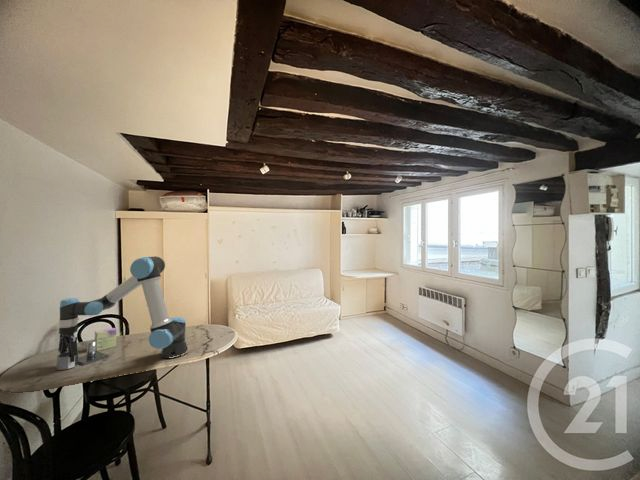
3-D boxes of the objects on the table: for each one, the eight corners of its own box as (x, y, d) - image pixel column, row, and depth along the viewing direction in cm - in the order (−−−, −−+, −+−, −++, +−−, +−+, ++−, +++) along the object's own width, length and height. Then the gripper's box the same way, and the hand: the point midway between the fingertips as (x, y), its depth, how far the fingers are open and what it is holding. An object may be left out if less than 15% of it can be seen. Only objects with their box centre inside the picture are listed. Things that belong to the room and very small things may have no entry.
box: (113, 344, 175) (114, 327, 176) (116, 346, 172) (116, 329, 172) (93, 349, 167) (94, 331, 167) (96, 351, 164) (97, 333, 164)
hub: (80, 364, 145) (80, 352, 145) (61, 371, 138) (61, 358, 138) (73, 362, 148) (73, 350, 148) (54, 368, 141) (54, 355, 141)
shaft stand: (108, 357, 156) (108, 340, 156) (83, 365, 145) (84, 347, 145) (97, 353, 161) (98, 337, 161) (73, 361, 150) (73, 343, 150)
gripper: (86, 326, 142) (85, 366, 142) (68, 321, 151) (66, 359, 150) (69, 330, 136) (67, 373, 135) (50, 325, 144) (49, 365, 144)
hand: (67, 365), depth 143 cm, fingers closed on hub, 8 cm apart
